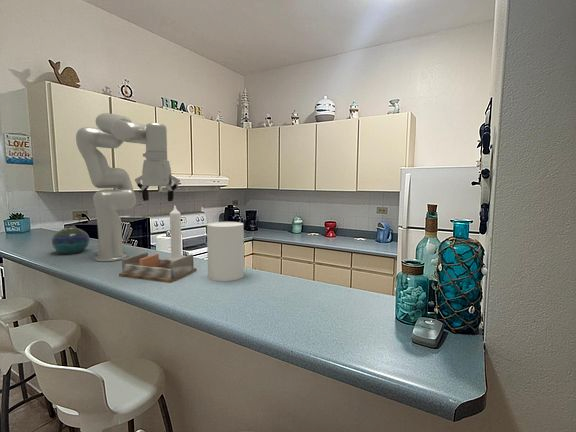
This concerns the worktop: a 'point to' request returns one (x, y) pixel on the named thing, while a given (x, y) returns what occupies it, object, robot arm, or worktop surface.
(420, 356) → the worktop surface
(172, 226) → the candle
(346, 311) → the worktop surface
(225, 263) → the canister
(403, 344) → the worktop surface
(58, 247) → the vase
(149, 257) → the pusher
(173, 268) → the grey brown open box
